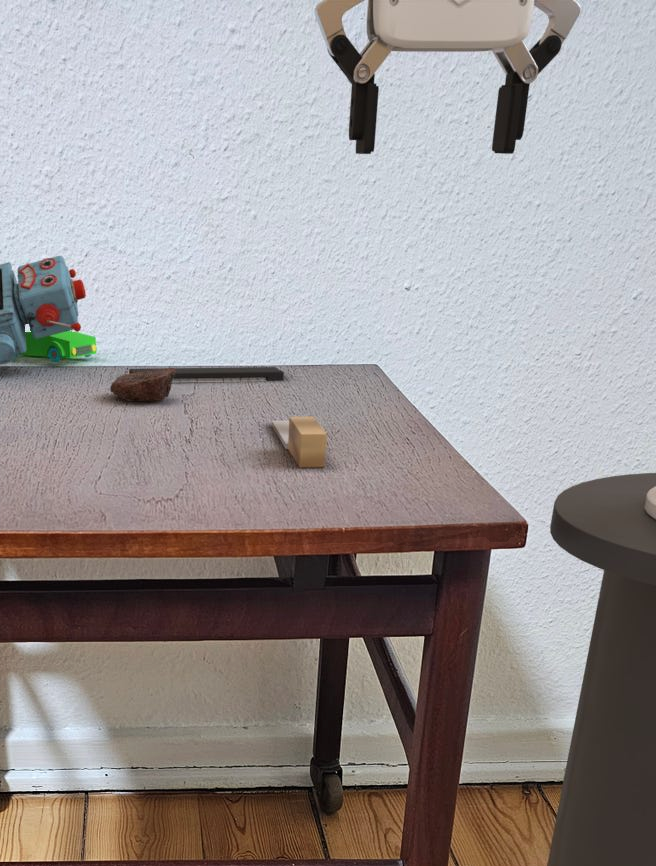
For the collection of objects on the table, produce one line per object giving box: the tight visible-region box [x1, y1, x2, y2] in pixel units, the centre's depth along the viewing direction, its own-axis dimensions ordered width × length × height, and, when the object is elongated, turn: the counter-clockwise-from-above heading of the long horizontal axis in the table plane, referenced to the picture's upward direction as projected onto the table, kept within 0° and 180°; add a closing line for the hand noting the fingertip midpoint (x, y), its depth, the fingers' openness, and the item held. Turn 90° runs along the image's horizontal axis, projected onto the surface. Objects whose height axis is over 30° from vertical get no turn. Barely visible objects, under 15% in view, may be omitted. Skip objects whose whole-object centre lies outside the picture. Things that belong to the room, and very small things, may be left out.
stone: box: [109, 367, 176, 402], centre depth 126 cm, size 7×7×3 cm
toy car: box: [13, 330, 98, 363], centre depth 147 cm, size 11×7×7 cm, turn 58°
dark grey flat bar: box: [128, 366, 285, 384], centre depth 138 cm, size 18×1×5 cm
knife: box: [271, 416, 328, 469], centre depth 108 cm, size 17×3×3 cm, turn 3°
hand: (433, 153), depth 82 cm, fingers open, 9 cm apart
